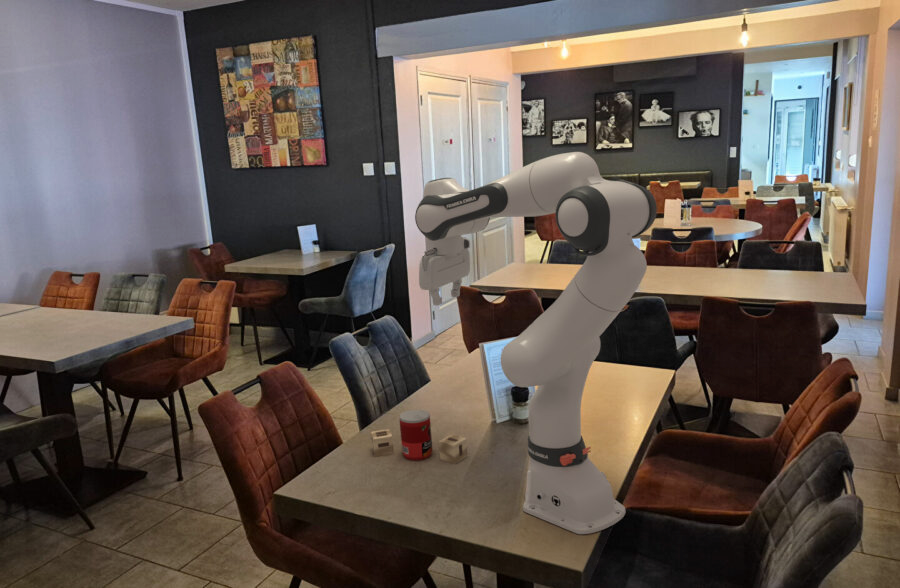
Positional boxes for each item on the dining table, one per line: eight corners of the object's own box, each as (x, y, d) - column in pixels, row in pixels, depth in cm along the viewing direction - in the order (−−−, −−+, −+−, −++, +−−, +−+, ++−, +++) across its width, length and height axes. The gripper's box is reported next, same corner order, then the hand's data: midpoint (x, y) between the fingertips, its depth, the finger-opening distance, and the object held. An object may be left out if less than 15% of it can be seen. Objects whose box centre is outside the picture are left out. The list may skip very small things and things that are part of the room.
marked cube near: (468, 456, 167) (466, 438, 166) (455, 464, 163) (453, 445, 162) (452, 452, 170) (451, 433, 169) (440, 459, 167) (438, 440, 166)
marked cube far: (393, 454, 171) (392, 435, 170) (375, 457, 170) (373, 438, 169) (390, 446, 176) (389, 428, 175) (372, 449, 175) (370, 431, 174)
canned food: (429, 461, 166) (425, 420, 163) (399, 460, 167) (395, 420, 165) (435, 448, 173) (432, 409, 171) (406, 447, 175) (403, 409, 172)
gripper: (434, 252, 148) (437, 311, 151) (473, 239, 166) (475, 292, 169) (410, 251, 151) (414, 309, 154) (451, 239, 169) (454, 291, 172)
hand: (446, 300), depth 162 cm, fingers open, 8 cm apart
